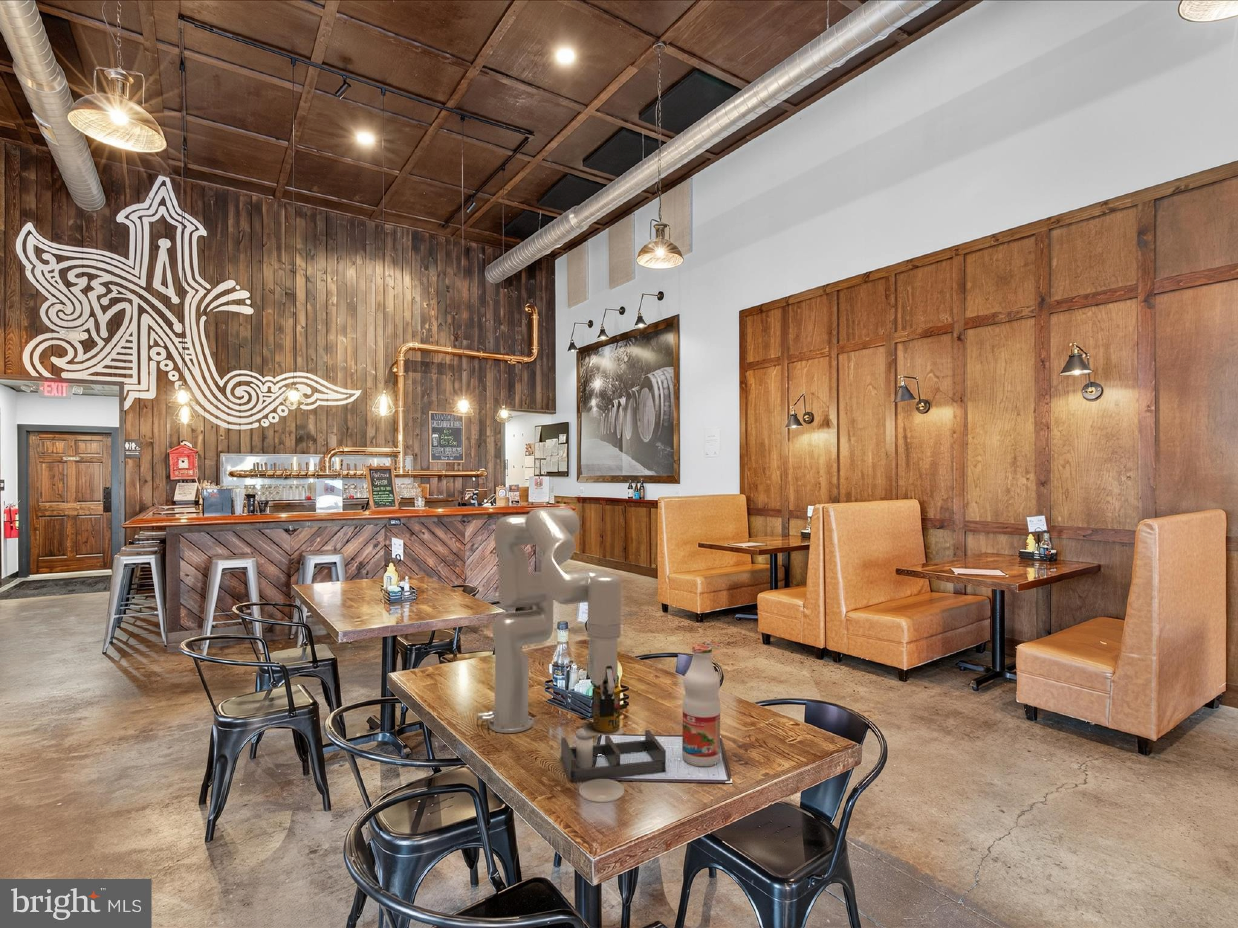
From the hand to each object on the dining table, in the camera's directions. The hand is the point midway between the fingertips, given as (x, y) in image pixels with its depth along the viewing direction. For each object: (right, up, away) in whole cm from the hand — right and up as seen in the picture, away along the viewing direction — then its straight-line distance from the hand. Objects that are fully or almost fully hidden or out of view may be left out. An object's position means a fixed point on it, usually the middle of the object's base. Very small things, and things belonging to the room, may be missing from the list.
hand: (602, 709), depth 141 cm
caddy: (+2, -18, +12) cm, 22 cm away
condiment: (0, -4, 0) cm, 4 cm away
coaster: (0, -18, -1) cm, 18 cm away
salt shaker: (-5, -18, +13) cm, 23 cm away
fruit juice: (+24, -19, +16) cm, 35 cm away
